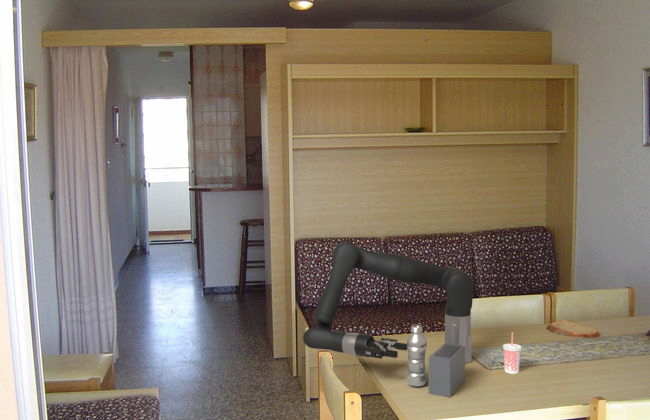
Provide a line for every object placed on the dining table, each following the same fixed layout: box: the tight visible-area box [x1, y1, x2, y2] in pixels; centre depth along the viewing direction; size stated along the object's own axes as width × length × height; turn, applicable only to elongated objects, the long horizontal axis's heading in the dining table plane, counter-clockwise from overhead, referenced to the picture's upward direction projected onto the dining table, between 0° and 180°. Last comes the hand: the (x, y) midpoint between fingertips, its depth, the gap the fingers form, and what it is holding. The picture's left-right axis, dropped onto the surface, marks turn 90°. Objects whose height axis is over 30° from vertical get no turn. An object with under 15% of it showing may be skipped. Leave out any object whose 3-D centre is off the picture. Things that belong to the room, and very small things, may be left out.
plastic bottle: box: [405, 324, 428, 388], centre depth 218 cm, size 6×7×20 cm
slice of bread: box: [545, 319, 600, 339], centre depth 277 cm, size 18×18×4 cm
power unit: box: [428, 342, 466, 398], centre depth 217 cm, size 7×16×12 cm, turn 152°
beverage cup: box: [502, 331, 522, 375], centre depth 230 cm, size 6×6×14 cm
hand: (402, 350), depth 221 cm, fingers open, 8 cm apart
